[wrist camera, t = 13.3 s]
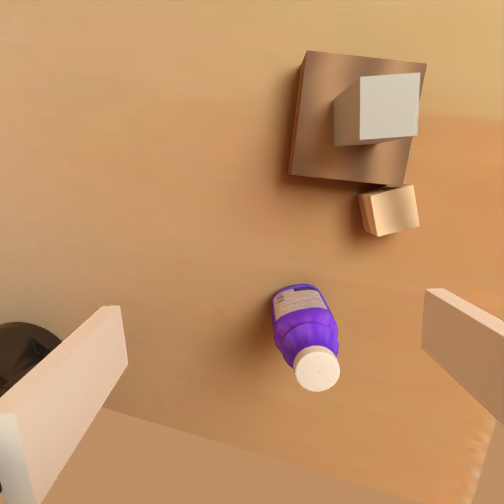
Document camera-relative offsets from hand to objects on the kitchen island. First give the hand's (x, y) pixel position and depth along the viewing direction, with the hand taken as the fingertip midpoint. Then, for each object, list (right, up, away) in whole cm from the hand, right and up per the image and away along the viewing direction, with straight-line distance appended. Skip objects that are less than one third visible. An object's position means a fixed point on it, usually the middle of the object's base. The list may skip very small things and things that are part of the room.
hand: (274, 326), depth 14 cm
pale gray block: (+11, +18, +23) cm, 31 cm away
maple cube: (+16, +9, +29) cm, 35 cm away
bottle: (+5, -4, +33) cm, 33 cm away
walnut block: (+11, +19, +28) cm, 35 cm away
